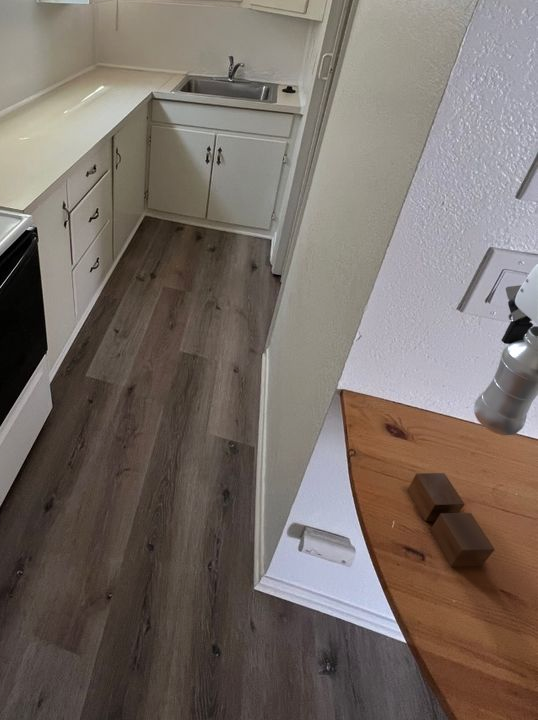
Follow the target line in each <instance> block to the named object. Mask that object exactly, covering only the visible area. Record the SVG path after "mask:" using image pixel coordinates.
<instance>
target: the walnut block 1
mask: <svg viewBox="0 0 538 720" xmlns="http://www.w3.org/2000/svg"><path fill="white" fill-rule="evenodd" d="M406 490H407V493H408V494H409V495H410V496H409V497H411V499H412V501H413V503H414V505H415V506H416V509H417V510H418V512H419V514H420V515H421V517H422V520H423V521H424V522H436V520H437V518H438V517H439V515H440V514H441V513H461V511H462V510H463V508H464V507H465V505H466V503H465V502H464V500H463V498H462V497H461V496H460V494H459V493H458V491H457V490H456V488H455V487H454V485H453V484H452V482H451V480H450V479H449V478H448V477H447V475H446V473H445V472H420V473H416V474H415V475H414V477H413V479H412V480H411V482H410V484H409V486H408V487H407V489H406Z"/></svg>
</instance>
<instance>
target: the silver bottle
mask: <svg viewBox="0 0 538 720" xmlns="http://www.w3.org/2000/svg"><path fill="white" fill-rule="evenodd" d="M537 396H538V325H533V327H531V328H530V329H529V330H528V332H527V333H526V334H525V336H524V340H520V341H516V342H513V343H511V344H507V345H506V346H505V347H504V348H503V350H502V352H501V356H500V359H499V363H498V367H497V368H496V372H495V374H494V376H493V378H492V380H491V381H490V383H489V384H488V386H487V387H486V388H485V390H484V391H482V392H481V393H480V394H479V395H478V397H477V398H476V399H475V400H474V405H473V413H474V416H475V418H476V420H477V421H478V422H479V423H480V425H481V426H483V428H485V429H486V430H488V431H490V432H492V433H494V434H496V435H500V436H514V435H517V433H519V432H520V431H521V430H522V429H523V428H524V426H525V425H526V421H527V416H528V412H529V410H530V408H531V406H532V403H533V402H534V400H536V397H537Z"/></svg>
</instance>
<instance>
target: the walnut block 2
mask: <svg viewBox="0 0 538 720" xmlns="http://www.w3.org/2000/svg"><path fill="white" fill-rule="evenodd" d="M429 531H430V533H431V535H432V536H433V538H434V540H435V542H436V544H437V545H438V547H439V549H440V550H441V552H442V554H443V555H444V558H445V559H446V561H447V563H448V565H449V566H450V567H482V566H483V565H484V564H485V562H486V561H487V560H488V559H489V558H490V557H491V555H492V554H493V552H494V551H496V549H495V547H494V545H493V544H492V543H491V541H490V539H489V538H488V536H487V535H486V533H485V532H484V530H483V529H482V528H481V526H480V525H479V523H478V521H477V520H476V519H475V517H474V515H473V514H472V513H471V512H459V513H441V514H440V515H439V517H438V518H437V520H436V521H434V523H433V524H432V526H431V528H430V530H429Z"/></svg>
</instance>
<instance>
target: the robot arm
mask: <svg viewBox="0 0 538 720" xmlns="http://www.w3.org/2000/svg"><path fill="white" fill-rule="evenodd" d="M505 292H506V297H507V299H508V302H507V305H508V309H509V312H510V313H509V314H508V320H509V321H510V322H509V324H508V327H507V328H506V330H505V332H504V334H503V336H502V338H501V342H502V343H503V344H505V345H509V344H511V343H513V342H516V341H520V340H524V336H525V334H526V333H527V332H528V330H529V329H530V328H531V327H533V326H534V323H535V324H537V325H538V263H537V264H535V266H534V267H533V268H532V269H531V271H530V272H529V274H528V275H527V276H526V277H525V279H524V281H523V283H522V284H517V285H511V286H510V285H509V286H506V287H505ZM532 321H533V322H534V323H532Z"/></svg>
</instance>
